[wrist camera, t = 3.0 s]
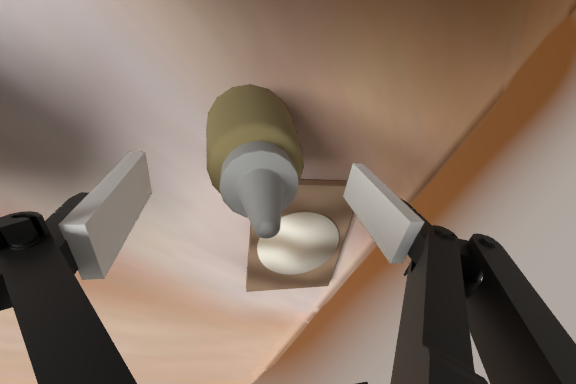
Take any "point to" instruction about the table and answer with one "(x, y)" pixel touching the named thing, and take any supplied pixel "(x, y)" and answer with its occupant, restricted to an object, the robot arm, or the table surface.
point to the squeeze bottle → (254, 155)
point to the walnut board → (302, 240)
